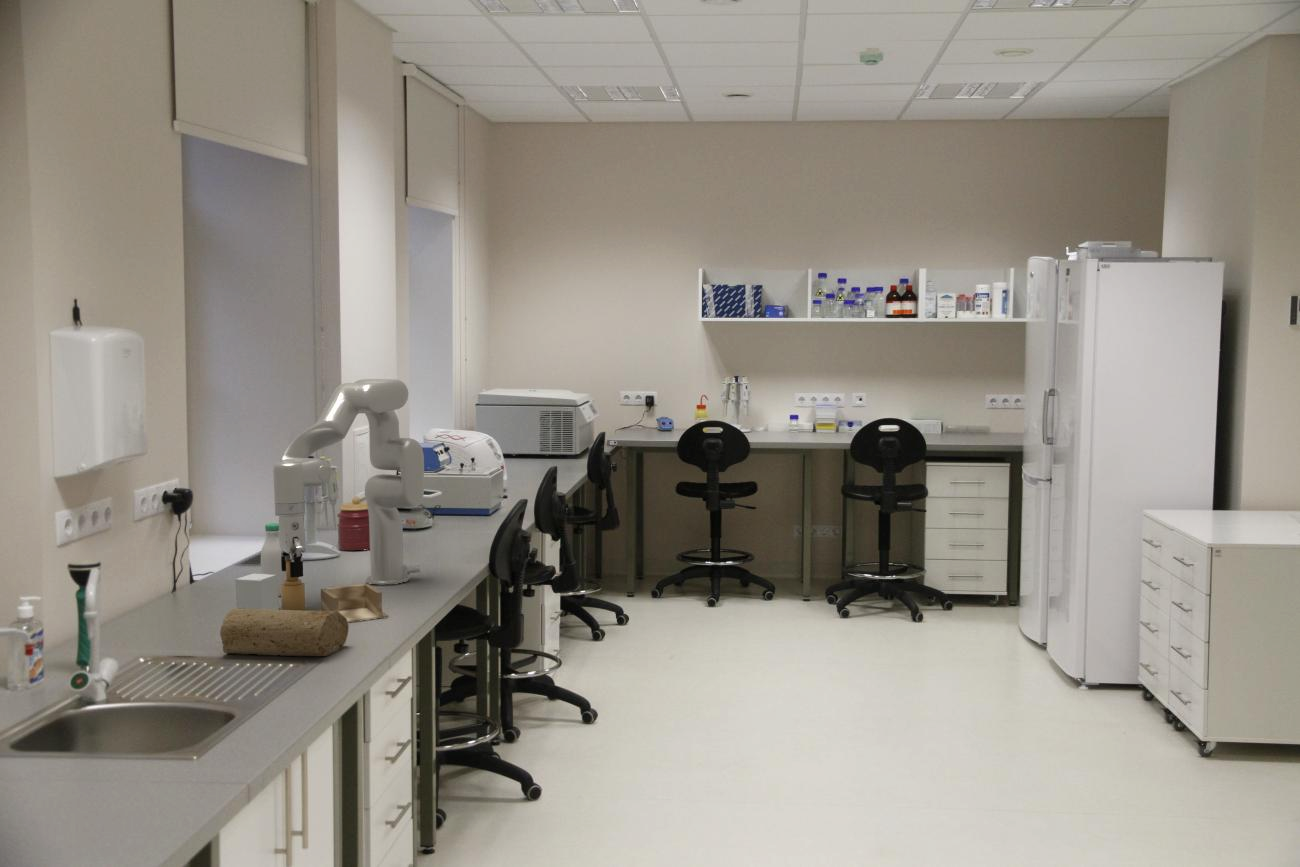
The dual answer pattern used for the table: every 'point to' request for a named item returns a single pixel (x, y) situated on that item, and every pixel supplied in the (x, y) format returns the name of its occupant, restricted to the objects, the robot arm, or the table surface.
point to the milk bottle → (272, 555)
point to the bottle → (292, 591)
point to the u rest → (353, 602)
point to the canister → (354, 526)
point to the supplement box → (257, 592)
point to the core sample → (283, 632)
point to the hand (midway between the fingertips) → (292, 573)
